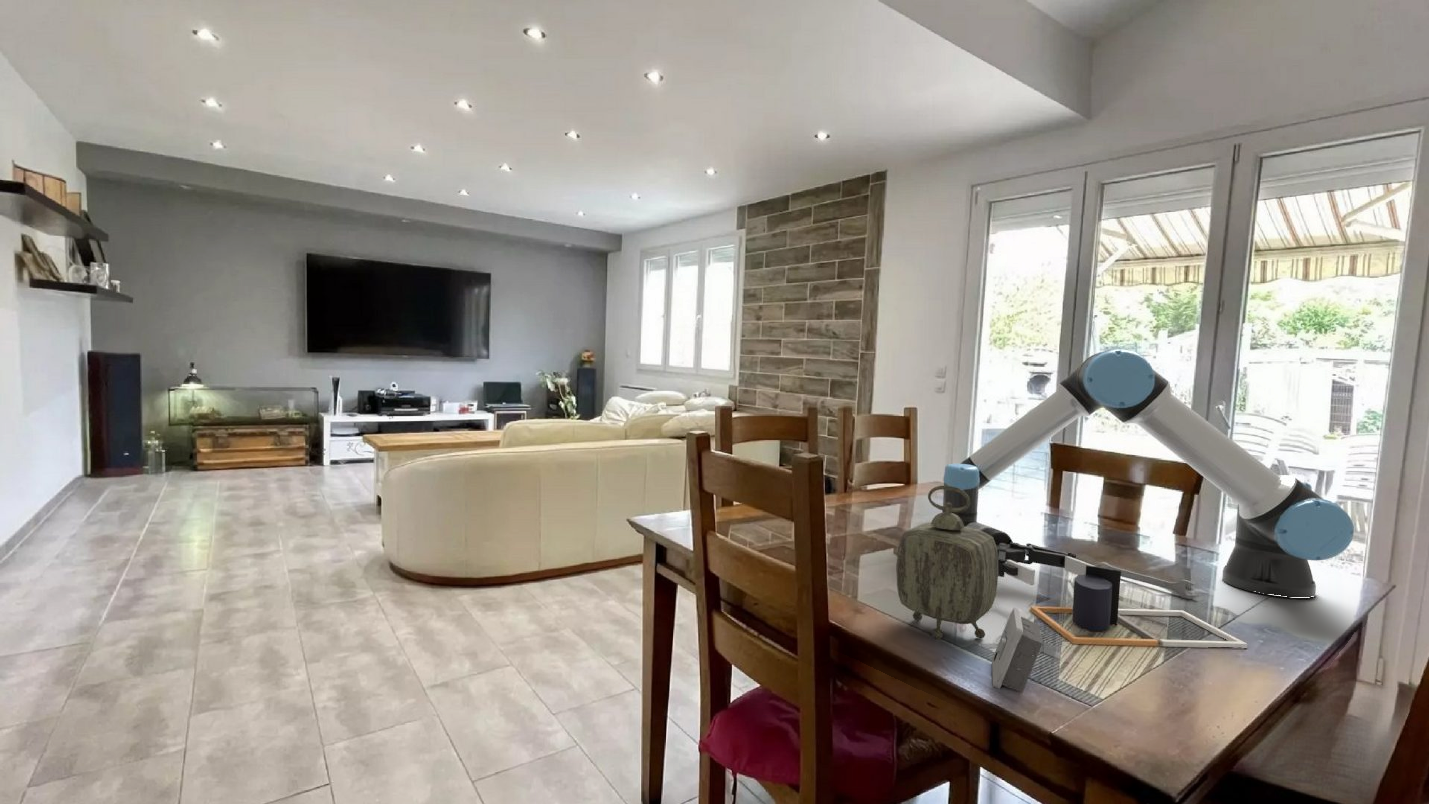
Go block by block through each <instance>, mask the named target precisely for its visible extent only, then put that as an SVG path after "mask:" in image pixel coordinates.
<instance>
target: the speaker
mask: <svg viewBox="0 0 1429 804" xmlns="http://www.w3.org/2000/svg"><path fill="white" fill-rule="evenodd" d="M1121 579H1122V578H1121V570H1116V569H1109V568H1108V567H1103V566H1100V567H1097V566H1096V565H1094V566H1090V565H1086V574H1085V575H1076V576H1075V577H1074V578H1073V594H1072V595H1073V597H1072V607H1073V613H1072V614H1071V615H1072V618H1071V620H1072V623H1073V624H1074V625H1075V626H1076V627H1078V628H1079V629H1082V630H1085V631H1088V632H1093V633H1103V632H1108V630H1109V629H1110V628H1111V625H1112V626H1116V627H1117V626H1118V621H1117V620H1118V609H1119V607H1120V606H1119V605H1120V593H1121V591H1120V590H1121Z"/></svg>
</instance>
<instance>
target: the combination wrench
mask: <svg viewBox="0 0 1429 804" xmlns="http://www.w3.org/2000/svg"><path fill="white" fill-rule="evenodd" d="M1101 565H1105V566H1106V567H1107V568H1109V569H1116V570H1121V577H1122V578H1126V579H1130V580H1134V581H1137V582H1140V583H1144V584H1148V585H1153V586H1156V587H1161V588H1164V589H1168V590H1171V591H1173V592H1174V593H1176V594H1178V595H1179V596H1180V597H1181V598H1184V599H1187V600H1193V599H1196V598H1199V596H1200V595H1198V594H1189V592H1188V591H1187V586H1196V585H1197V583H1194V582H1193V581H1190V580H1187V579H1180V580H1179V581H1177V582H1171V581H1167V580H1164V579H1161V578H1158V577H1152V576H1149V575H1145V574H1142V573H1138V572H1134V571H1130V570H1127V569H1122V568H1119V567H1115V566H1113V565H1110V564H1109V563H1107V562H1105V561H1102V562H1099V563H1097V567H1102V566H1101Z"/></svg>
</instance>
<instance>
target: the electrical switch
mask: <svg viewBox="0 0 1429 804" xmlns="http://www.w3.org/2000/svg"><path fill="white" fill-rule="evenodd" d="M1042 646H1043V639H1042V636H1041V630H1040V625H1039V623H1038V622H1034V621H1032V620H1029V619H1028V618H1026V617H1025V616H1021V609H1018V608H1015V607H1013V608H1012V610H1011V612H1010V614H1009V616H1008V618H1007V621H1006V623H1005V625H1004V628H1003V630H1002V633H1001V636H1000V638H999V641H998V644H997V646H996V649H995V651H994V653H993V656H992V660H991V668H992V669H991V674H992V687H994V688H996V689H998V690H1000V689H1001V687H1002V685H1003V686H1005V687H1007V688H1009V689H1013V690H1015V691H1017V692H1018V693H1019V692H1020V693H1023V692H1024V690H1025V687H1026V684H1027V682H1028V680H1029V678H1030V675H1031V672H1032V670H1033V668H1034V666H1035V663H1036V661H1037V658H1038V655H1039V653H1040V651H1041V648H1042Z"/></svg>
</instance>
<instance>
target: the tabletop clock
mask: <svg viewBox="0 0 1429 804" xmlns="http://www.w3.org/2000/svg"><path fill="white" fill-rule="evenodd" d="M943 489H944V490H952V491H956V492H959V493H961V494H962V495H963V496H964V497H965V498H966V499H967V505H966V506H964V507H962V508H952V504H951V503H949V502H948V503H946V504H945V507H944V506H943V505H940V504H938V503H936V502H935V501H933V499H932V497H931V496H932V494H933V493H934V492H937V491H939V490H943ZM927 499H928V501H929V503H930V504H931V506H933V507H935V508H936V509H937V510H941V511H945V512H944V513H942V512H940V513H937V514H936V515H935V516H934V517H933V518H932V520H931V522H926V523H922V524H919V525H917V526H914V527H912V528H909V529H908V530H905V531H904V532H903V533H902V535H901V537H900V539H899V540H900V541H899V543H898V548H897V556H896V557H897V558H896V564H895V565H896V566H895V567H896V589H897V590H896V591H897V594H898V597H899V601H900V604H901V605H903V606H904V607H905V608H907V609H908V610H911V611H912V612H913V613H912V618H913V620H914V621H916V622H920V621H922V620H923V616H926V617H929V618H931V619H935V620H936V628H934V629H933V630H932V631H931V632H932V636H933V637H934V638H935V639H936V638H938V639H937V640H939V639H941V638H942V637H943V634H944V633H943V631H942V629H941V626H942V621H944V622H948V623H953V624H957V625H958V624H959V625H970V624H971V625H972V627H973V628H974V630H975V631H974V635H975V637H976V638H977V639H980V640H982V639H984V638H985V636H986V632H985V630H984V629H983V628H979V626H978V624H977V622H978V621H979V620H980V619H981V618H982V617H984V616H985V615H986V614H987V613H988V612H990V610H991V609H992V607H993V605H994V603H995V599H996V595H997V589H998V584H999V583H998V582H999V576H998V553H997V547H996V544H995V541H994V539H993V537H992V536H990V535H988V534H987V533H985V532H982V531H980V530H976V529H972V528H968V527H964V524H963V522H962V520H961V519H960V518H959V517H958V516H957V515H956V514H953V513H951V512H960V511H964V510H966V509H967V508H968V507H969V505H970V499H969V496H968V495H967V494H966V493H965V492H964V491H963V490H961V489H959V488H956V487H953V486H944V485H938V486H935V487H933V488H932V489H930V491H929V492H928V494H927Z"/></svg>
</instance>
